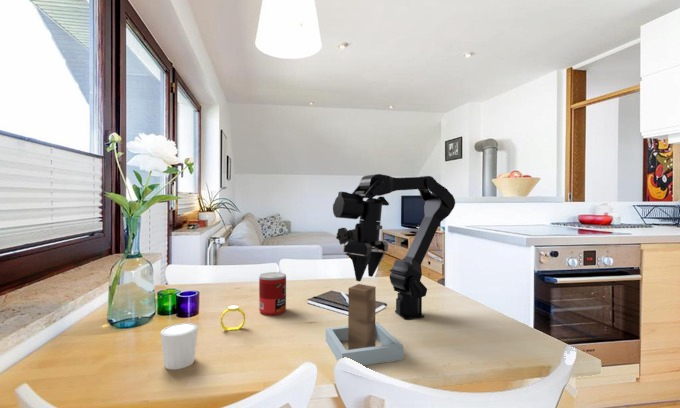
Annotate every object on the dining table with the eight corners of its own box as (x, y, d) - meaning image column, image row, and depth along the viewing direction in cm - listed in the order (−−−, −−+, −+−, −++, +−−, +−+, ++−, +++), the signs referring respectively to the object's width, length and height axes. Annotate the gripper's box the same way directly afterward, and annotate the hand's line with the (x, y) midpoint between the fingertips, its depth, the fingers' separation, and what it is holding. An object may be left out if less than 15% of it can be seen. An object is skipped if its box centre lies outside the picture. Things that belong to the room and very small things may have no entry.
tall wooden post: (358, 343, 76) (358, 283, 76) (375, 348, 74) (375, 286, 74) (348, 351, 73) (348, 288, 73) (365, 356, 70) (365, 291, 70)
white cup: (169, 355, 71) (169, 322, 70) (202, 354, 71) (202, 321, 71) (154, 372, 64) (154, 336, 64) (190, 370, 64) (190, 335, 64)
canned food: (280, 316, 94) (280, 278, 94) (254, 314, 95) (254, 277, 95) (289, 308, 101) (289, 272, 101) (265, 306, 103) (265, 271, 103)
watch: (244, 327, 87) (246, 305, 87) (244, 331, 84) (246, 308, 84) (220, 328, 85) (222, 305, 85) (219, 332, 82) (221, 308, 82)
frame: (378, 334, 82) (378, 322, 82) (403, 359, 69) (403, 345, 69) (325, 340, 78) (325, 328, 78) (342, 368, 65) (342, 353, 65)
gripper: (355, 219, 101) (350, 270, 100) (327, 216, 84) (322, 278, 83) (390, 222, 96) (385, 276, 95) (368, 220, 79) (363, 286, 78)
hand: (364, 278), depth 88 cm, fingers open, 9 cm apart
